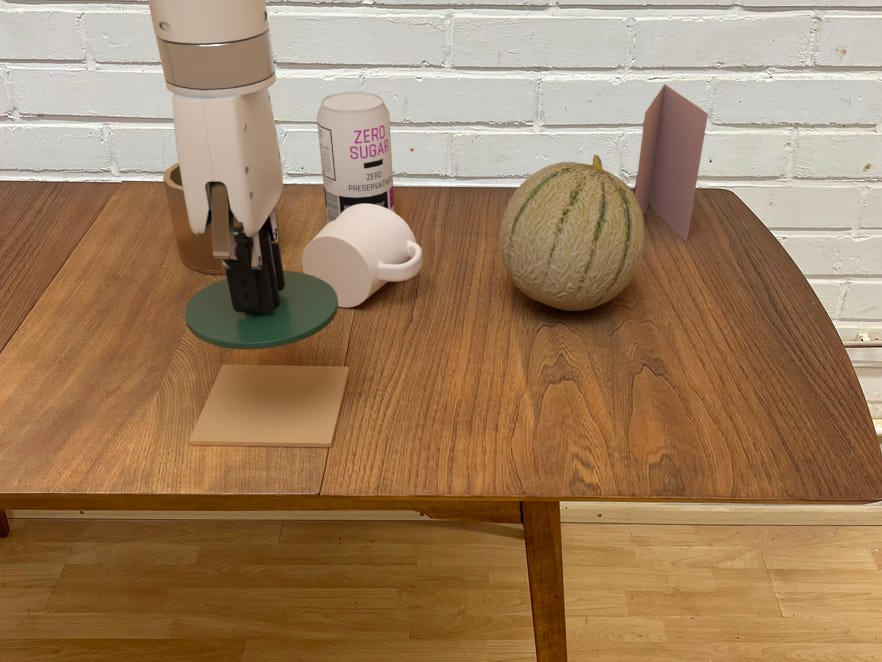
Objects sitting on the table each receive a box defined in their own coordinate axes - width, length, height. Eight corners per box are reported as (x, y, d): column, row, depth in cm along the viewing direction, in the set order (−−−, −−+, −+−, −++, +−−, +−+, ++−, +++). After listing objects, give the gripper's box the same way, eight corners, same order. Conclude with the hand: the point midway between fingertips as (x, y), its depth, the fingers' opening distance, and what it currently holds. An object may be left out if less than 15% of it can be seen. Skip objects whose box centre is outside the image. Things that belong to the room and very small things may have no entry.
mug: (299, 299, 95) (290, 228, 90) (339, 263, 102) (333, 195, 97) (402, 319, 92) (398, 247, 87) (436, 280, 99) (435, 211, 94)
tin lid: (265, 373, 67) (249, 287, 63) (155, 327, 73) (133, 245, 68) (369, 307, 75) (362, 226, 71) (263, 270, 81) (250, 192, 76)
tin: (230, 284, 98) (215, 200, 91) (160, 257, 102) (141, 176, 96) (301, 247, 105) (291, 167, 99) (232, 224, 110) (219, 146, 104)
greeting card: (641, 204, 116) (657, 83, 106) (698, 212, 114) (720, 90, 104) (622, 239, 108) (637, 111, 98) (683, 249, 106) (705, 119, 96)
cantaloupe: (474, 316, 93) (476, 174, 83) (529, 260, 103) (536, 128, 93) (609, 350, 88) (627, 203, 78) (653, 287, 98) (674, 151, 88)
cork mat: (189, 445, 75) (188, 440, 75) (223, 368, 84) (222, 364, 84) (331, 447, 75) (331, 443, 75) (349, 370, 84) (349, 366, 84)
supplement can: (351, 210, 113) (341, 86, 104) (407, 222, 111) (402, 96, 101) (315, 233, 108) (300, 105, 98) (373, 247, 105) (364, 116, 96)
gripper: (201, 30, 68) (242, 254, 79) (120, 95, 55) (183, 350, 67) (298, 31, 67) (325, 257, 79) (238, 97, 55) (281, 353, 67)
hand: (260, 297), depth 73 cm, fingers closed on tin lid, 3 cm apart
